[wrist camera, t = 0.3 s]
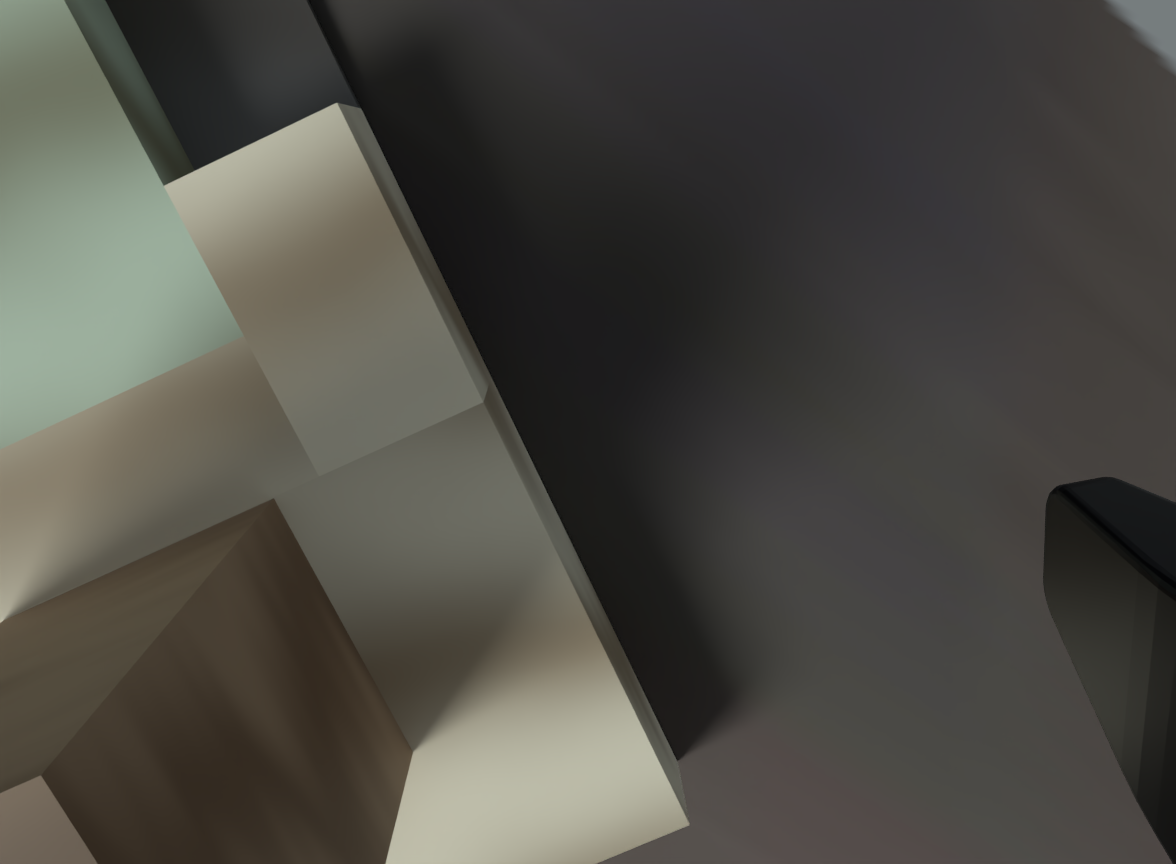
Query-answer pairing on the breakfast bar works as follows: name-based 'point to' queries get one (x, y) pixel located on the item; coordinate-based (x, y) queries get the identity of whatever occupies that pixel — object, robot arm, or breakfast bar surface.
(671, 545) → the breakfast bar surface
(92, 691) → the walnut block
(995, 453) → the breakfast bar surface
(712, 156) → the breakfast bar surface
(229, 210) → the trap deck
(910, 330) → the breakfast bar surface
